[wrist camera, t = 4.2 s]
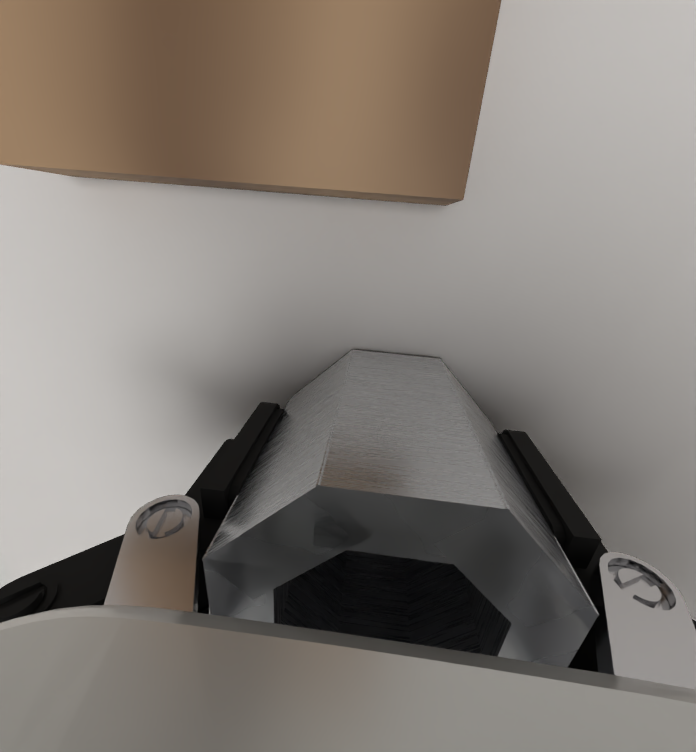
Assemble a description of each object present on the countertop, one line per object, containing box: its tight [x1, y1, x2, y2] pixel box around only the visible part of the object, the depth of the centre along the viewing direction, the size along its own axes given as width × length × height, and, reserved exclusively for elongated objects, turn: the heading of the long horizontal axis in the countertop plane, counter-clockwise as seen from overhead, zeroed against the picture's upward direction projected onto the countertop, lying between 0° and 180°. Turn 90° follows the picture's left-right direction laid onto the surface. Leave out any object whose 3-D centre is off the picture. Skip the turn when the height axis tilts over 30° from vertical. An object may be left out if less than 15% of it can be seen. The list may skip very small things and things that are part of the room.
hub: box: [202, 350, 599, 668], centre depth 9 cm, size 6×6×6 cm
